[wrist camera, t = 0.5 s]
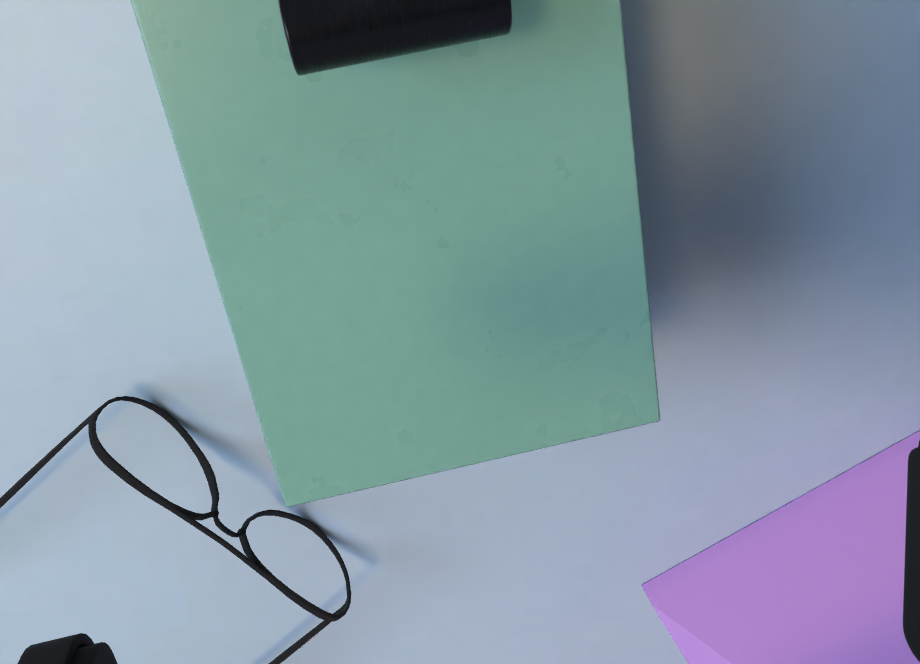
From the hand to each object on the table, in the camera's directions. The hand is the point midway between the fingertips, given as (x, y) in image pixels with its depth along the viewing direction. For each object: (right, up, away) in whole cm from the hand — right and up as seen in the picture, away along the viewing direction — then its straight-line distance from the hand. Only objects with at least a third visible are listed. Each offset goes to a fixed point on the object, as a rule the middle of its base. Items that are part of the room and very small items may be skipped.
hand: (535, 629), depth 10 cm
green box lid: (-2, +7, +16) cm, 17 cm away
